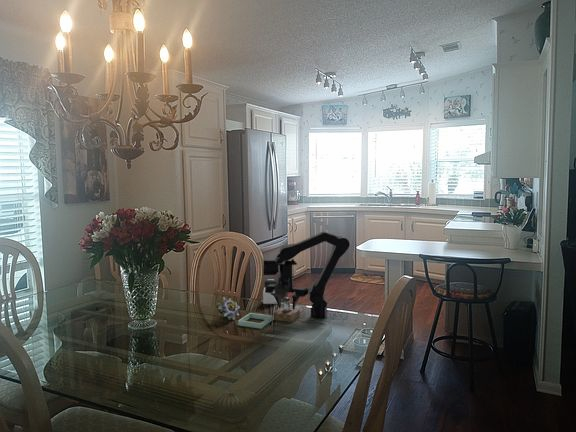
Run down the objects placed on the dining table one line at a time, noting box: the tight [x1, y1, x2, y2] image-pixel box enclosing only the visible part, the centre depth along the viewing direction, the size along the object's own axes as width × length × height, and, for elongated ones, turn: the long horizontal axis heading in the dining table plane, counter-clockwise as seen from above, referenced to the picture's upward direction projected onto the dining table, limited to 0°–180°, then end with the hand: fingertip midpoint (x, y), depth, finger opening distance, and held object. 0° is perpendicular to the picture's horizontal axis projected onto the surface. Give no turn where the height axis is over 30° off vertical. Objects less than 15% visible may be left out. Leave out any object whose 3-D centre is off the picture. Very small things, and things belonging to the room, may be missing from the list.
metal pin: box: [282, 296, 291, 313], centre depth 198 cm, size 3×3×9 cm
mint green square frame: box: [237, 312, 273, 330], centre depth 193 cm, size 11×11×3 cm
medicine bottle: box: [262, 279, 278, 305], centre depth 222 cm, size 7×7×12 cm
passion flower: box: [215, 296, 241, 321], centre depth 202 cm, size 11×11×12 cm
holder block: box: [272, 306, 301, 323], centre depth 199 cm, size 9×9×4 cm
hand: (286, 308), depth 198 cm, fingers open, 6 cm apart
